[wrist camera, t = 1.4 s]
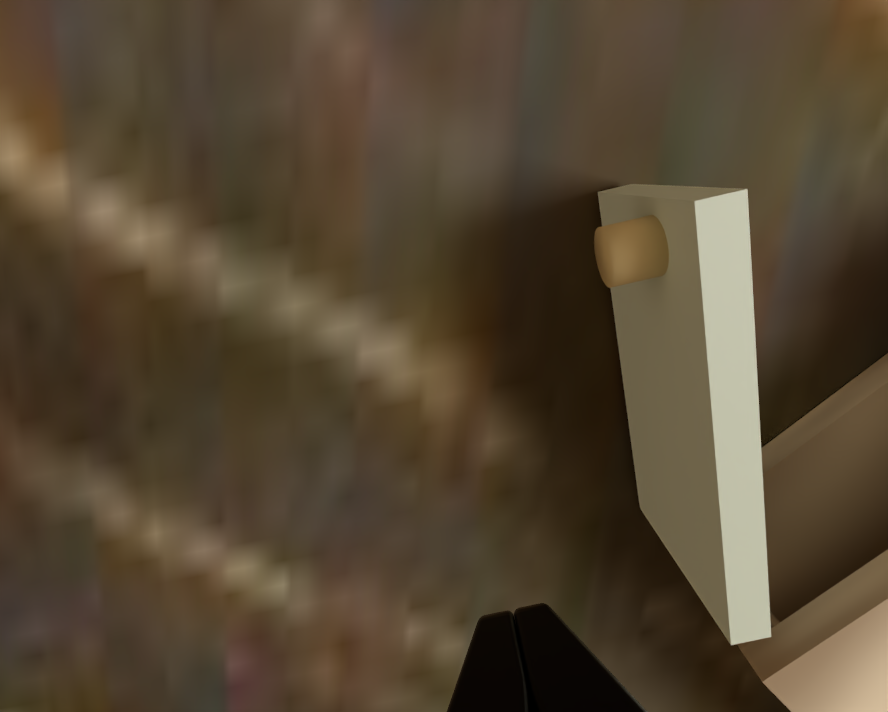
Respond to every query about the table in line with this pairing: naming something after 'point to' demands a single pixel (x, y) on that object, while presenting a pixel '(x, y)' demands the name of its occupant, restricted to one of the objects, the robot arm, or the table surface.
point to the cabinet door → (692, 385)
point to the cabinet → (829, 554)
